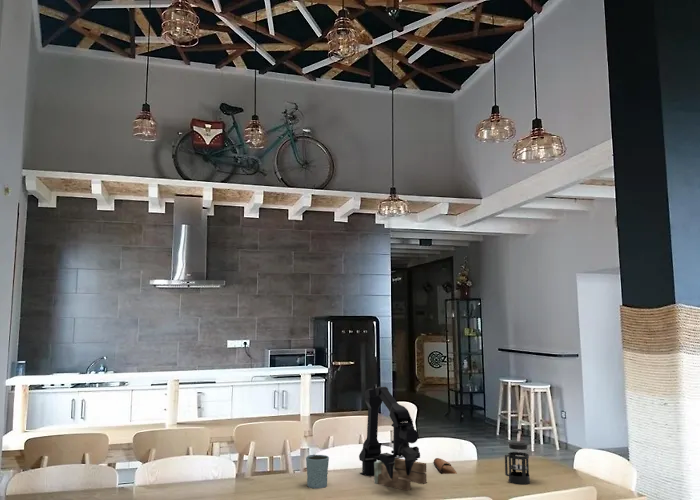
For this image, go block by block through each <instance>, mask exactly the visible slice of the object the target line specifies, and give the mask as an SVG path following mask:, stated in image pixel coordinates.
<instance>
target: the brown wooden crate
mask: <svg viewBox="0 0 700 500" xmlns="http://www.w3.org/2000/svg"><path fill="white" fill-rule="evenodd" d="M394 463H395V464H394V466H393V469H395V470H396V471H398V481H395V482H393V481H391V480H390V479H388V478H387V477H385V476H384V475H382V474H381V465H382V464H384V463H383V462H381V461H380V460H379V461H378V460H377V461H376V462H374V475H373V478H374V479H373V480H374V481H373V483H374V484H375V485H382V486H387V487H390V488H394V489H399V490H403V491H404V490H405V491H409V490H411V489H412V488H411V482H413V483H417V484H421V483H423V484H422V485H424V483H425V484H427V481H428V480H427V463H426V462H420V461H417V460H416V461H415V462H414V463H413V466H412V468H411V471H410V474H409V476H408V475H407V473H406V466H405V458H397V459H395V460H394Z"/></svg>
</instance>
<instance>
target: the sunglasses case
mask: <svg viewBox="0 0 700 500" xmlns="http://www.w3.org/2000/svg"><path fill="white" fill-rule="evenodd" d="M432 462H433V465H434V467H436V468H437V470H438V471H439V472H440V474H443V475H450V474H452V475H454V474H458V473H457V471H456V469H454V467H453V466H452V464H451V463H450V462H448V461H447V460H446V459H445V460H444V459H442V458H439V457H436V458H435V459H434V460H433V461H432Z"/></svg>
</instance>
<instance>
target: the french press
mask: <svg viewBox="0 0 700 500" xmlns="http://www.w3.org/2000/svg"><path fill="white" fill-rule="evenodd" d="M512 431H515V432H516V435H517V437H516V438H517V440H512V441H507V445H508V448H509V449H512V450H517V451H512V452H511V451H510V452H508V453H507V454H505V455H504V471H505V472H504V474H505V476H506V477H508V482H509V483H510V484H513V485H523V486H524V485H530V484H531V481H530V469H529V454H528V452H527V453H525V452H522V451H525V450H527V449H528V445H529V443H528V442H526V441H519V434H520V432H523V429H520V428H513V429H512ZM519 450H520V451H521V452H520V451H519ZM520 460H521V464H520ZM517 461H518V462H517ZM516 463H517V464H516Z"/></svg>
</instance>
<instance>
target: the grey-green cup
mask: <svg viewBox="0 0 700 500" xmlns="http://www.w3.org/2000/svg"><path fill="white" fill-rule="evenodd" d="M329 459H330V457H329V456H328V455H325V454H310V455H307V456H306V457H305V464H306V474H307V475H306V483H307V487H308V488H310V489H324V488H327V486H328V474H329V472H328V471H329Z"/></svg>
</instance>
